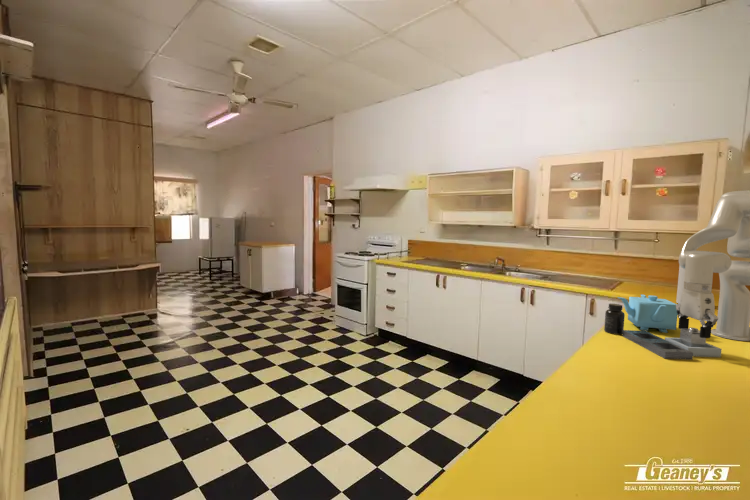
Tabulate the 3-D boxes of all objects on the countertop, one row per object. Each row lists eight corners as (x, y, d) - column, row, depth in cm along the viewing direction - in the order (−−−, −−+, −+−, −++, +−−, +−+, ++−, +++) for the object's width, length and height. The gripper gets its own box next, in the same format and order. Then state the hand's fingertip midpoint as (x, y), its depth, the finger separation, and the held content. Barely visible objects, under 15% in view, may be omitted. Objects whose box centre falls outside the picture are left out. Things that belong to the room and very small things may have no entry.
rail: (622, 336, 146) (622, 330, 146) (644, 336, 145) (645, 330, 145) (664, 358, 122) (665, 351, 122) (692, 359, 122) (693, 352, 121)
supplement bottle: (626, 335, 147) (628, 307, 146) (608, 334, 148) (610, 306, 147) (618, 330, 154) (620, 303, 153) (601, 329, 155) (603, 302, 154)
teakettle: (685, 331, 153) (688, 298, 152) (662, 337, 145) (665, 302, 144) (637, 320, 170) (639, 290, 169) (614, 325, 162) (616, 293, 160)
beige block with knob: (693, 347, 132) (695, 326, 132) (704, 352, 127) (706, 330, 127) (679, 346, 133) (680, 326, 132) (689, 351, 128) (691, 330, 127)
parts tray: (695, 346, 135) (695, 338, 135) (720, 357, 124) (721, 349, 124) (664, 345, 136) (665, 337, 136) (687, 355, 125) (688, 347, 125)
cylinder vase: (671, 303, 206) (675, 261, 204) (682, 301, 211) (686, 260, 209) (699, 308, 195) (703, 263, 193) (709, 306, 200) (713, 262, 198)
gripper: (730, 292, 119) (726, 341, 121) (689, 282, 136) (685, 326, 138) (706, 292, 120) (702, 341, 121) (668, 282, 137) (665, 325, 139)
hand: (693, 333), depth 130 cm, fingers open, 9 cm apart
